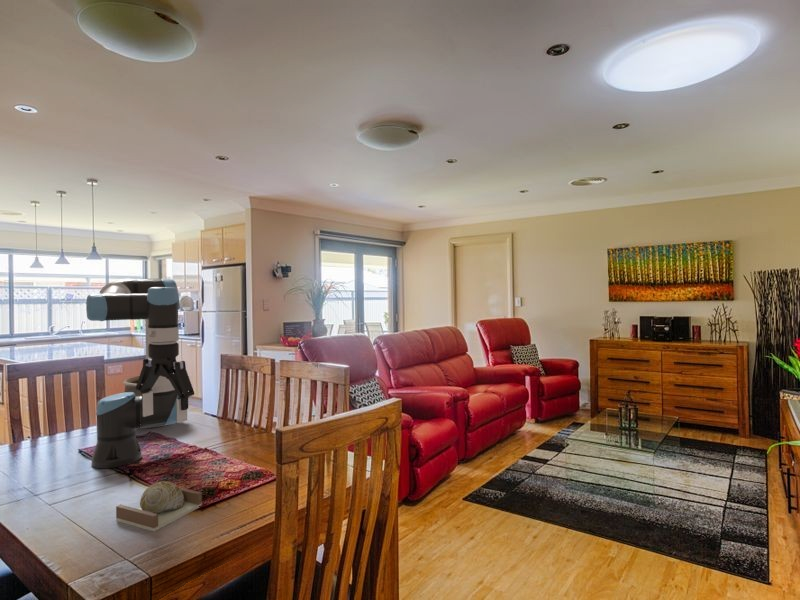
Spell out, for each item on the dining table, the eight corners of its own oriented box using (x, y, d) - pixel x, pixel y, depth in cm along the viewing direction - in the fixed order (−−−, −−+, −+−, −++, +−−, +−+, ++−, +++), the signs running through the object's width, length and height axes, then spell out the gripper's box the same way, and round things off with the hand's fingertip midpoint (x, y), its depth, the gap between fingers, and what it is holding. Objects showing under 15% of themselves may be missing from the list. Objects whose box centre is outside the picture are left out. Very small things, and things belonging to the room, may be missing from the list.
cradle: (116, 520, 121) (116, 506, 121) (166, 497, 135) (165, 484, 135) (154, 531, 115) (153, 516, 115) (201, 505, 129) (201, 492, 129)
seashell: (189, 494, 133) (185, 469, 128) (178, 525, 124) (174, 499, 120) (151, 495, 131) (146, 470, 127) (138, 526, 123) (132, 500, 118)
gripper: (120, 341, 130) (122, 416, 131) (184, 346, 120) (185, 428, 121) (145, 338, 137) (146, 409, 138) (207, 343, 127) (208, 420, 128)
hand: (164, 418), depth 130 cm, fingers open, 13 cm apart
